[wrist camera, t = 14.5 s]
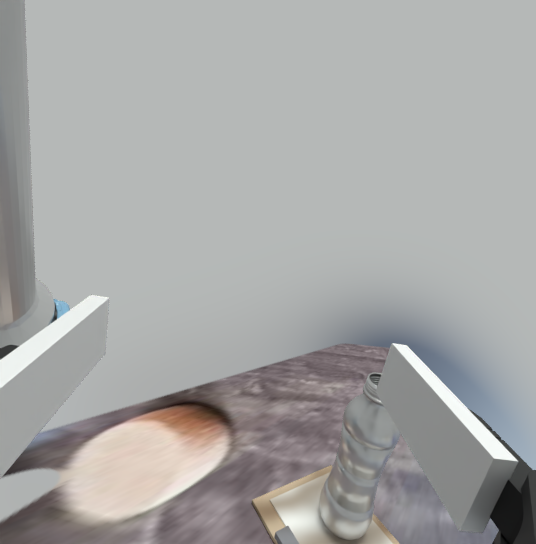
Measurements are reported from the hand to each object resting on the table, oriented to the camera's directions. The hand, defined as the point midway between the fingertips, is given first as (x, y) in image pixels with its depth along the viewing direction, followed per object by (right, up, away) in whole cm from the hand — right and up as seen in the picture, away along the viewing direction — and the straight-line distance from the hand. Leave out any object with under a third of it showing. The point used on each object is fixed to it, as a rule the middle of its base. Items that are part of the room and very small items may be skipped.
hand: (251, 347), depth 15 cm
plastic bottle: (+10, -28, +25) cm, 39 cm away
